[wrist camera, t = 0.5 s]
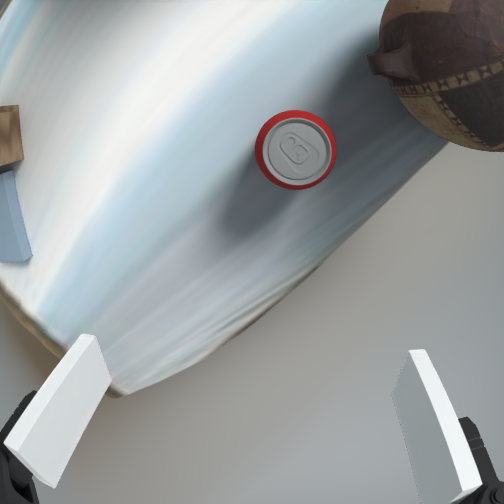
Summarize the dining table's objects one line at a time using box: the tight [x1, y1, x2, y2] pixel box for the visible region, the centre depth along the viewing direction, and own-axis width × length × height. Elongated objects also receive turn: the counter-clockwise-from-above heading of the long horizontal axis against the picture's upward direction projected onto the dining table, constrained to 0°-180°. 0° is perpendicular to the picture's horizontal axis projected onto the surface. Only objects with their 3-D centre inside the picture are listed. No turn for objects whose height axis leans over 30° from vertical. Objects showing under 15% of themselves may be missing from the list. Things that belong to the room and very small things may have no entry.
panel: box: [0, 170, 33, 262], centre depth 39 cm, size 15×8×3 cm, turn 4°
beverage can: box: [255, 110, 336, 190], centre depth 28 cm, size 7×7×12 cm
